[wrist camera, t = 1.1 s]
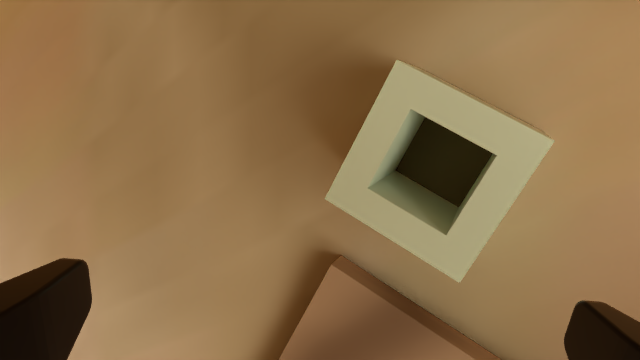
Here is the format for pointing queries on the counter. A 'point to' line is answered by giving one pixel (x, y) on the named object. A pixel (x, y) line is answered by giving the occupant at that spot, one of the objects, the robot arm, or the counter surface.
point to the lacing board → (372, 324)
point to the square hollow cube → (415, 200)
